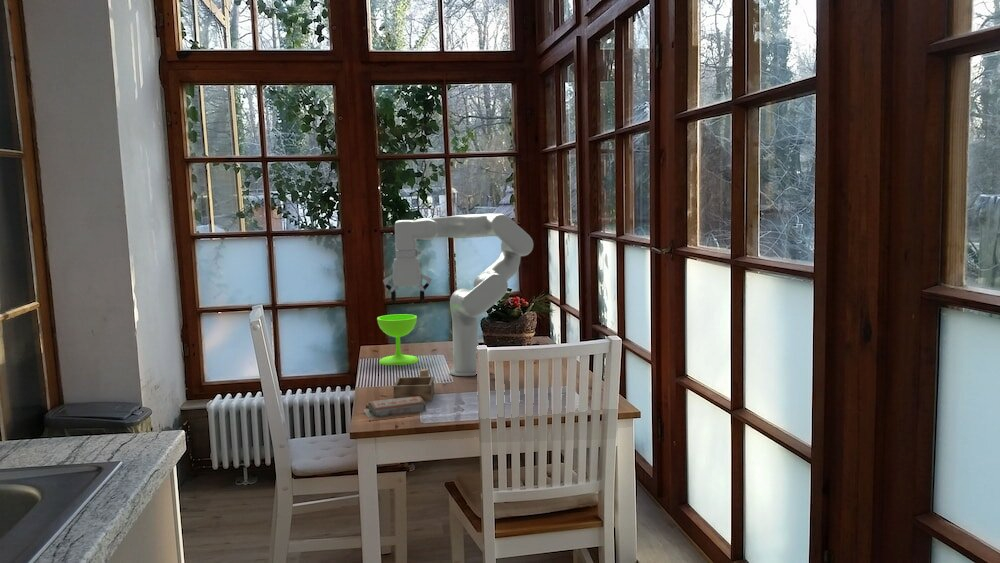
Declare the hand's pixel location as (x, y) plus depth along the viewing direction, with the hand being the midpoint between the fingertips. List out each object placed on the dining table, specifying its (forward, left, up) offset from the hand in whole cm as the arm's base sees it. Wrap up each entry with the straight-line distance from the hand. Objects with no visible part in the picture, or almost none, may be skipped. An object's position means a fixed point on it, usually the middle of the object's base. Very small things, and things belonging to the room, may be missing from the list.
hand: (408, 302), depth 276 cm
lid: (-6, +13, -29) cm, 32 cm away
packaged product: (0, +44, -29) cm, 53 cm away
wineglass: (+8, -32, -28) cm, 44 cm away
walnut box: (-4, +28, -28) cm, 40 cm away
